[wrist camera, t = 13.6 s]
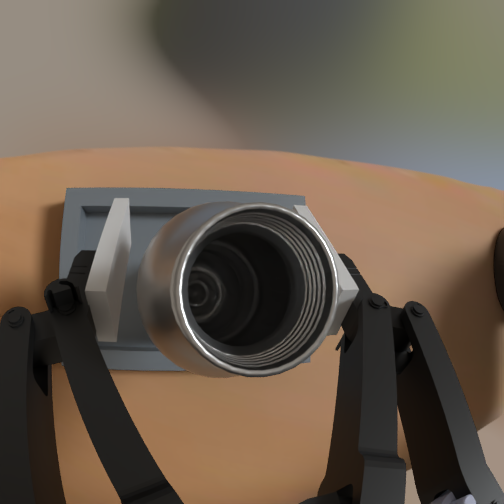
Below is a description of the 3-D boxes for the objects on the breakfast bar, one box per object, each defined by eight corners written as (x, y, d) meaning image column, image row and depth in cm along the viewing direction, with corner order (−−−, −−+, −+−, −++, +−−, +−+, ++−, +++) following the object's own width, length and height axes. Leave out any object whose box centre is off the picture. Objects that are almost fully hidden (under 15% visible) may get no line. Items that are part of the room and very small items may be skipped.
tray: (292, 205, 30) (304, 196, 27) (296, 356, 28) (310, 362, 25) (76, 198, 25) (66, 188, 22) (72, 359, 23) (61, 365, 20)
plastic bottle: (149, 326, 25) (84, 418, 5) (165, 244, 26) (149, 110, 6) (227, 340, 26) (361, 442, 7) (241, 260, 27) (399, 182, 8)
